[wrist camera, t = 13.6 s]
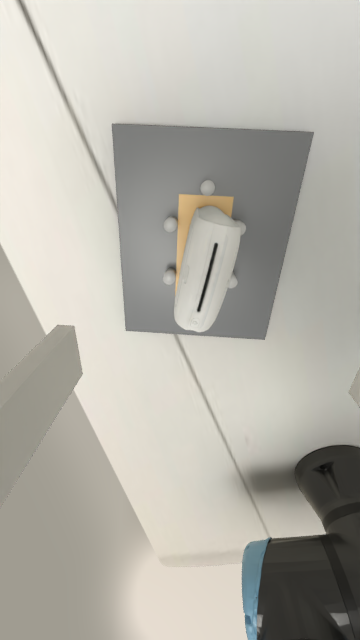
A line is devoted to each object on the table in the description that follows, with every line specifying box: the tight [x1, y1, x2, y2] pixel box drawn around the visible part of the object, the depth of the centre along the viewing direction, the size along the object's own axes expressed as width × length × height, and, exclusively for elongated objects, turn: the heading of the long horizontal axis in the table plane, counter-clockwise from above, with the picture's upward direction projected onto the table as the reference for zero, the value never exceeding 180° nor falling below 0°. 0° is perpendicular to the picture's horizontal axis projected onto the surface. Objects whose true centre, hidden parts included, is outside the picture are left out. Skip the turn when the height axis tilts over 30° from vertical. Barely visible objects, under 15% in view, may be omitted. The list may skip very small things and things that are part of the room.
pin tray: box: [112, 124, 314, 340], centre depth 30 cm, size 20×24×4 cm
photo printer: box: [174, 206, 241, 332], centre depth 25 cm, size 10×4×12 cm, turn 168°
